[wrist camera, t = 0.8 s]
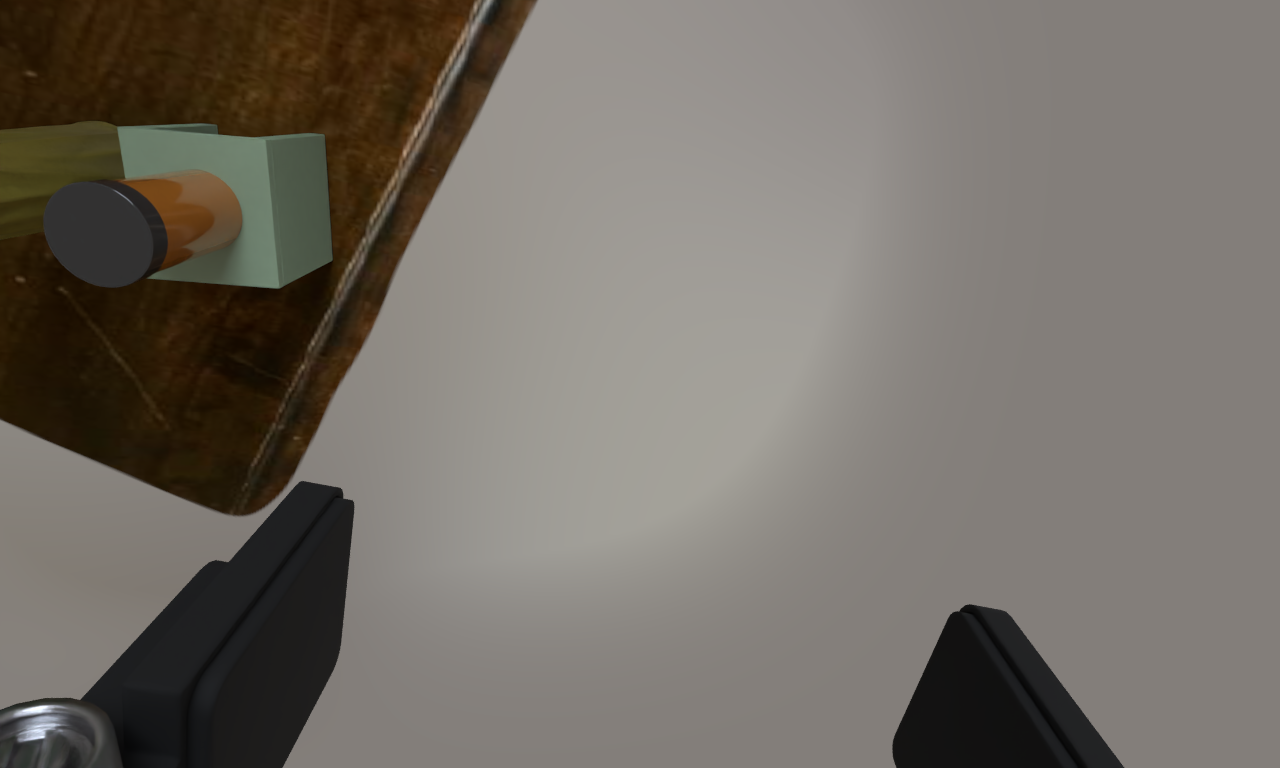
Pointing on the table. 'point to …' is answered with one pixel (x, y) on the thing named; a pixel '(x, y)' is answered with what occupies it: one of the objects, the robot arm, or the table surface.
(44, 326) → the table surface
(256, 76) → the table surface
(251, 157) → the pale green block
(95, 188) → the bottle
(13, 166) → the vase
